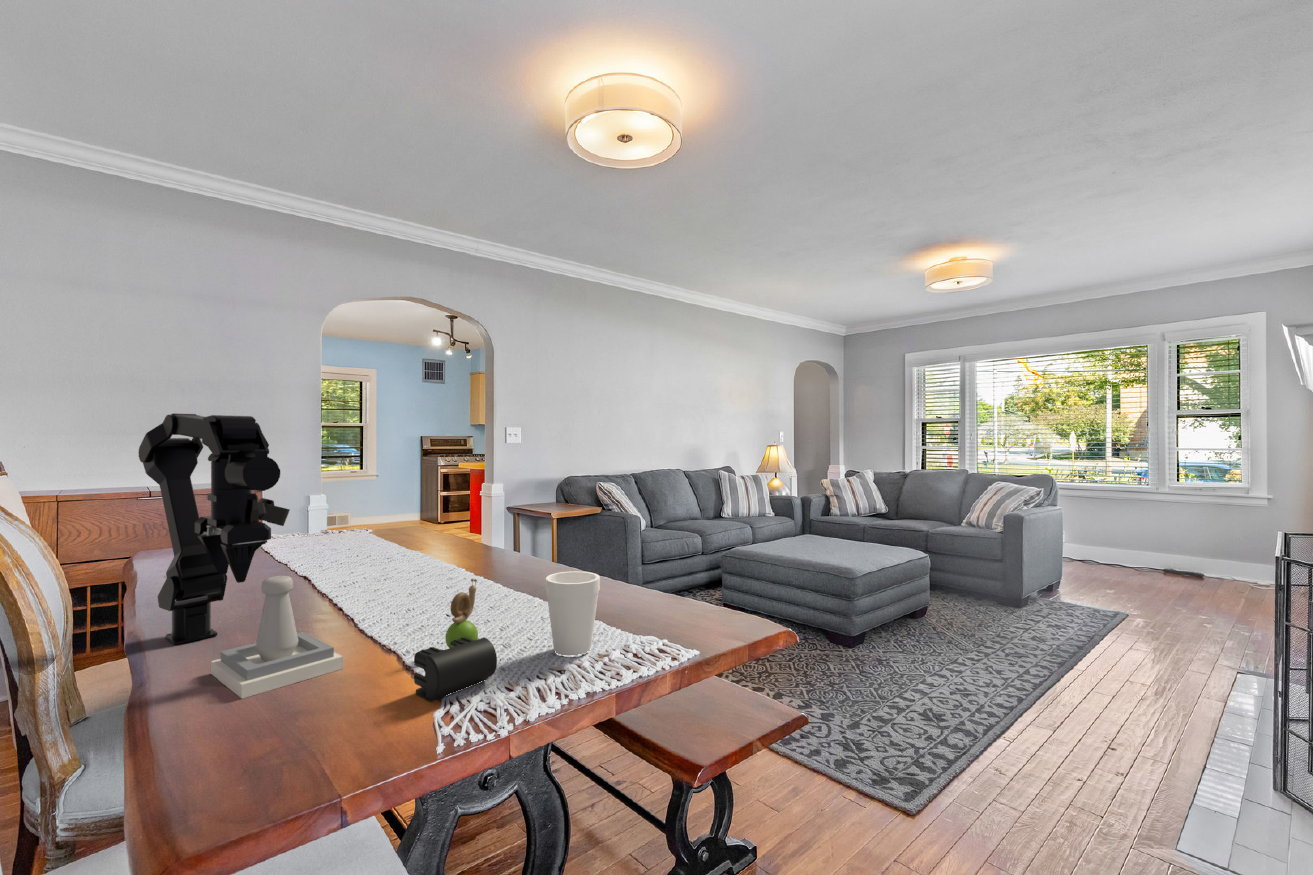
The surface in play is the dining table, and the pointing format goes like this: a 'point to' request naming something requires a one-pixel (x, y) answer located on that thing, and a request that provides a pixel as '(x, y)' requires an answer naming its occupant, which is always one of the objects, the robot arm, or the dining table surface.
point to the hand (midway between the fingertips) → (231, 577)
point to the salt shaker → (276, 620)
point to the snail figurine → (462, 617)
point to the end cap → (454, 667)
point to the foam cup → (572, 610)
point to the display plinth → (274, 666)
